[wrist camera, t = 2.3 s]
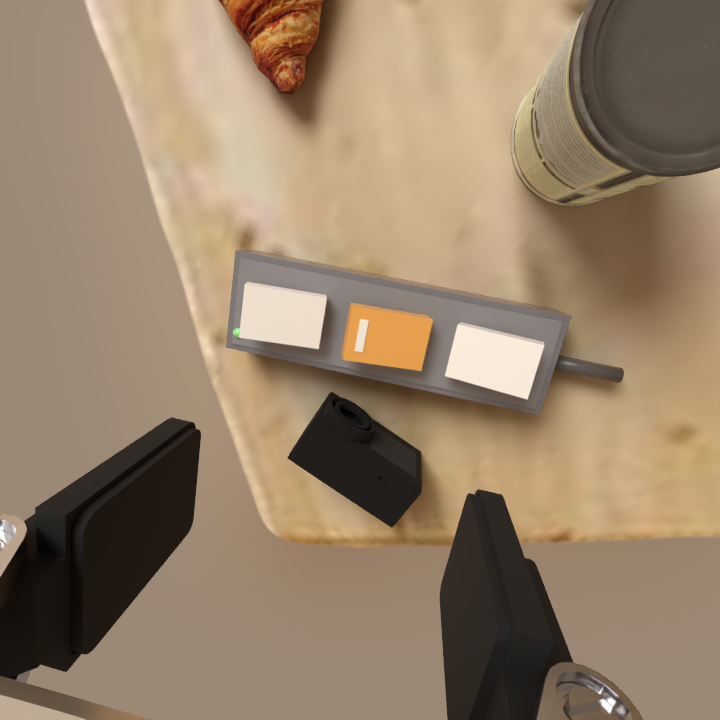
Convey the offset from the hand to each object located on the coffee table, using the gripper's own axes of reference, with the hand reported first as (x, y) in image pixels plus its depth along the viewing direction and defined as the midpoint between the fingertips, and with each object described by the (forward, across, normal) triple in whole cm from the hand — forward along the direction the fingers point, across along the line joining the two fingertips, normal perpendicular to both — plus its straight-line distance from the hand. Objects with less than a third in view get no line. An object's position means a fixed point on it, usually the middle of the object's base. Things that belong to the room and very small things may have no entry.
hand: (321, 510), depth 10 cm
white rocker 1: (+22, +8, 0) cm, 23 cm away
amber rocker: (+22, 0, 0) cm, 22 cm away
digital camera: (+28, 0, +11) cm, 30 cm away
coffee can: (+28, -11, -17) cm, 34 cm away
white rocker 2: (+22, -8, 0) cm, 23 cm away
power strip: (+28, -3, 0) cm, 28 cm away
